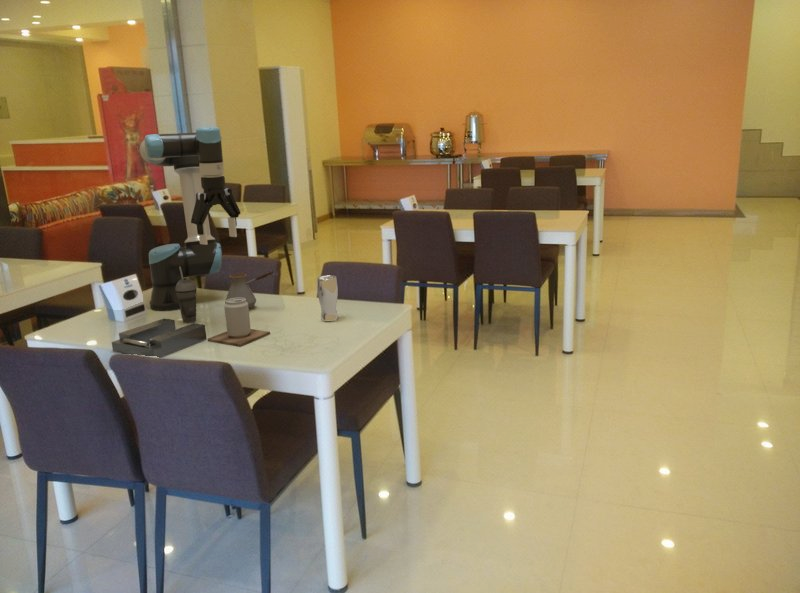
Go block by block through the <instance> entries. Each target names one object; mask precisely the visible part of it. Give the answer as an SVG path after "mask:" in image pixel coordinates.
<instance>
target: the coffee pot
mask: <svg viewBox="0 0 800 593" xmlns="http://www.w3.org/2000/svg"><path fill="white" fill-rule="evenodd" d="M272 274H273V275H275V276H278V271H277V270H275V269H274V270H272V271H268V272H266V273H263V274H261V275H259V276H257V277H255V278H253V279H250V280H248V281H247V280H246V278H247V276H248V274H246V273H234V274H230V275H229V278H230V281H231V282H230V286H229V288H228V291H227V295H226V298H225V301H224V305H225V304H226V300H228V299H231V298H245V299H246V300H245V301H246V302H247V303H248V308H249V310H251V309H253V307H254V306H255V305H256V302H257V298H256V296H255V294H254V293H253V291H252V289H251V288H250V285H249V284H252V283H253V282H256V281H259V280H261V279H264V278H266V277H268V276H271V275H272Z"/></svg>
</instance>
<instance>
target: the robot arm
mask: <svg viewBox="0 0 800 593" xmlns="http://www.w3.org/2000/svg"><path fill="white" fill-rule="evenodd" d="M195 131H196V132H181V133H179V132H178V133H153V134H147V135H145V137H144V139H143V140H142V141H141V143H140V145H139V148H138V153H139V155H140V157H141V159H142V160H143V161H144V162H146V163H147V164H150V165H153V166H156V167H157V166H158V167H173V170H174V172H175V173H176V174H177V175H178V176H179V177H178V178H179V184H180V190H181V198H182V205H183V212H184V219H185V225H186V232H187V238H186V239H185V240H184V246H181V245H180V243H167V244H164V245H160V246H157V247H153V248H152V249H151V250H149V252H148V264H149V268H150V278H151V279H150V280H151V284H152V290H151V296H150V300H149V309H150V310H153V311H159V312H162V311H163V312H164V311H174V310H180V306H179V302H178V297H177V295H176V292H175V290H176V289H175V288H176V284H177V283H178V281H180V280H181V279H182V277H181V273H180V268H179V267H180V266H181V271H182V275H183V279H185V278H189V277H191V278H192V277H197V276H198V277H199V276H205V275H207V276H209V275H212V274H217V273H218V272H220V270H221V268H222V260H223V259H222V258H223V256H222V255H223V254H222V246H221V244H220V243H219V242H216V238H215V237H213V236H212V235H211V228H210V222H209V212H210V211H211V208H213V206H217V205H220V206H221V207H222V209H223V210H224V211H225V213H226V214H227V215H228V217H227V223H228V234H229V236H228V237H229V238H230V237H231V238H237V237H238V234H237V224H238V223H237V218H239V216H240V215H241V210H240V208H239V206H238V203H237V201H236V199H235V196H233V190H232V188H227V187H226V178H225V168H224V167H225V166H224V159H223V157H224V156H223V147H222V146H223V145H222V138H223V137H222V136H221V130H220V128H219V127H217V126H200V127H197V128H196V130H195Z"/></svg>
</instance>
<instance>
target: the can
mask: <svg viewBox="0 0 800 593" xmlns="http://www.w3.org/2000/svg"><path fill="white" fill-rule="evenodd" d="M245 300H246V299H245V298H231V299H228V300H226V299H225V301H226V304H225V303H224V305H223V306H224V315H225V323H226V331H227V334H228V335H229V336H230V337H232V338H241V337H245V336H247V335H249V333H250V332H251V329H252V328H251V322H250V320H251V319H250V309H249V308H248V303H247V302H246V301H245Z"/></svg>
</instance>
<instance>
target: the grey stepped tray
mask: <svg viewBox="0 0 800 593" xmlns="http://www.w3.org/2000/svg"><path fill="white" fill-rule="evenodd" d="M206 331H207V330H206V324H201V323H197V322H194V323H189V324H188V325H184V326H182V327H179V328H176V320H175V319H171V318H162V319H158V320H155V321H151V322H149V323H146V324H142V325H140V326H137V327H134V328H130V329H128V330H124V331H122V332H119V333H118V336H119V339H115V340H113V341H111V348H112V352H115V353H120V354H124V353H129V354H137V355H145V356H157V357H161V358H163V357H166V356H168V355H171V354H173V353H176V352H178V351H179V352H180V351H182V350H183V349H186V348H190V347H191V346H194V345H196V344H199V343H202V342H205V341H208V338H207V332H206ZM129 354H128V355H129Z"/></svg>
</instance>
